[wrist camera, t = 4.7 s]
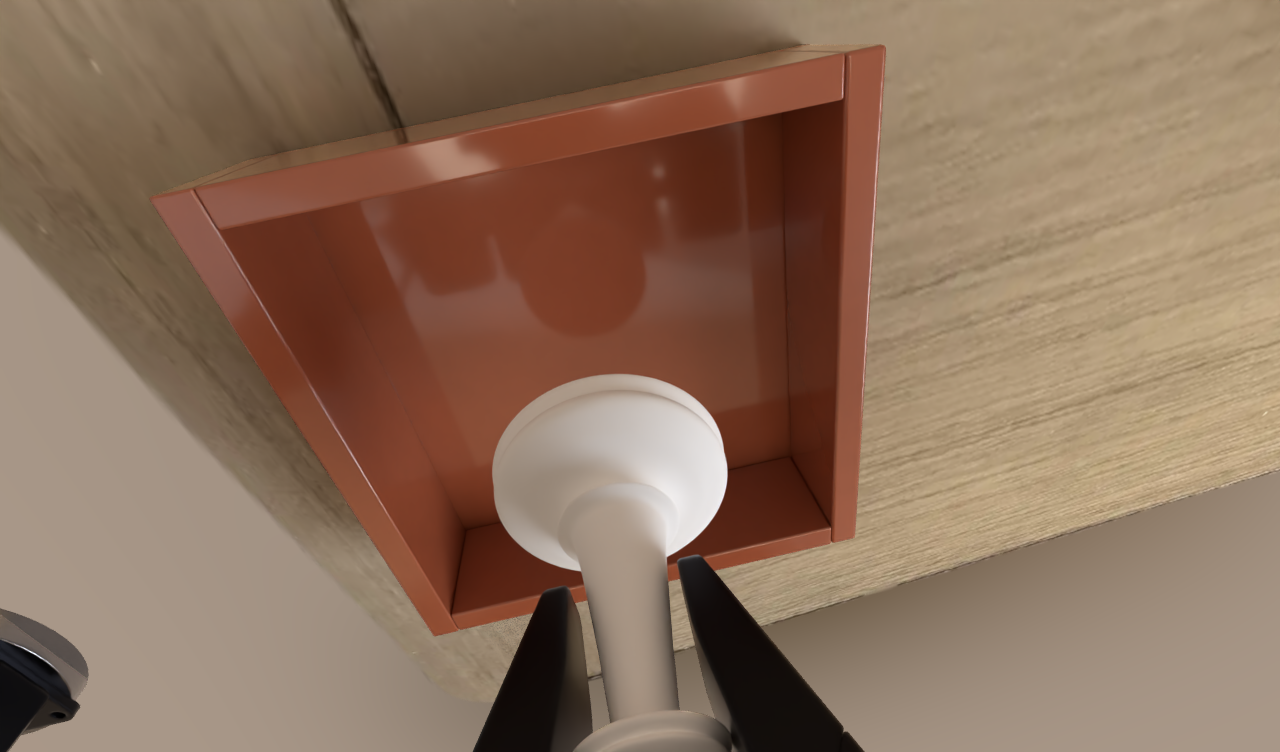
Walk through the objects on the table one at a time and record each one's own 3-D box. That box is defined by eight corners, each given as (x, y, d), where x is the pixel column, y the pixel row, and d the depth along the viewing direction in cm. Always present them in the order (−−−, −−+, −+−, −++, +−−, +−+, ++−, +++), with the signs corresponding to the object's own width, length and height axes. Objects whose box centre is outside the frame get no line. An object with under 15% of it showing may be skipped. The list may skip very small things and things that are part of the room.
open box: (452, 542, 20) (433, 637, 17) (248, 159, 13) (146, 197, 10) (808, 461, 20) (856, 539, 17) (806, 44, 13) (888, 43, 10)
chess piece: (541, 573, 13) (522, 1561, 5) (451, 415, 10) (5, 2066, 2) (738, 515, 13) (1096, 1410, 4) (699, 341, 10) (1390, 1730, 2)
